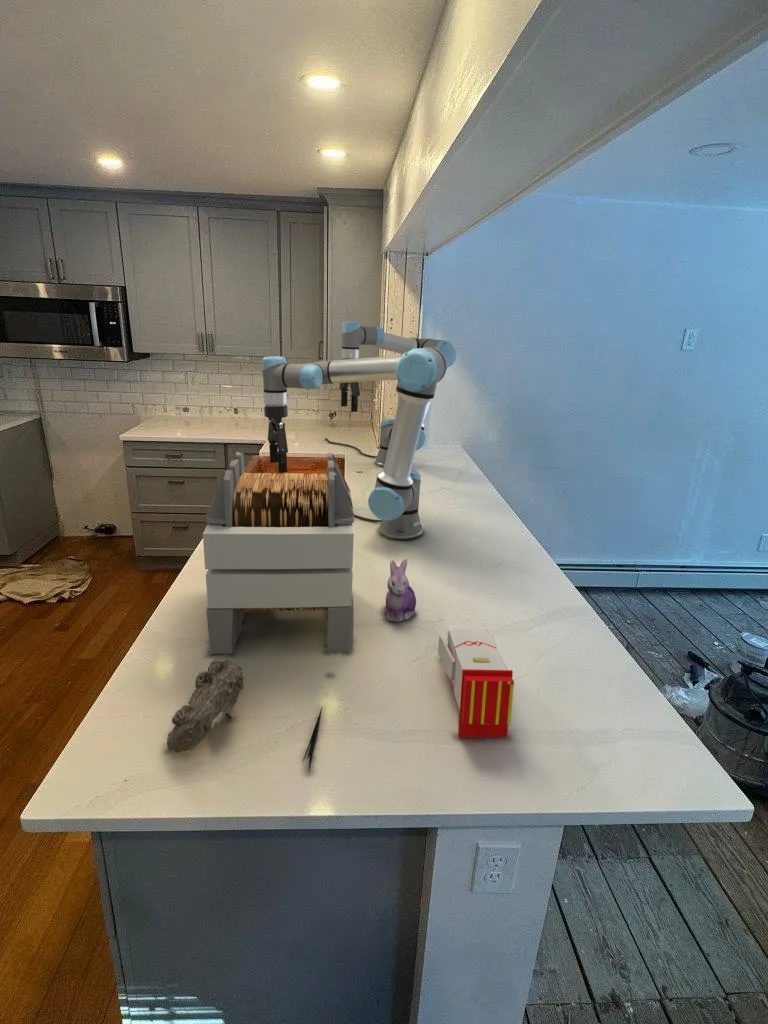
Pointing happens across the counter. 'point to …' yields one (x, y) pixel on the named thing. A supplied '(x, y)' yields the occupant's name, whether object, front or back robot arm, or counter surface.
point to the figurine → (399, 594)
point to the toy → (478, 682)
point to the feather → (313, 740)
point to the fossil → (206, 705)
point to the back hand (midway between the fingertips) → (349, 408)
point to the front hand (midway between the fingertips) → (278, 467)
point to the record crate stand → (279, 550)
